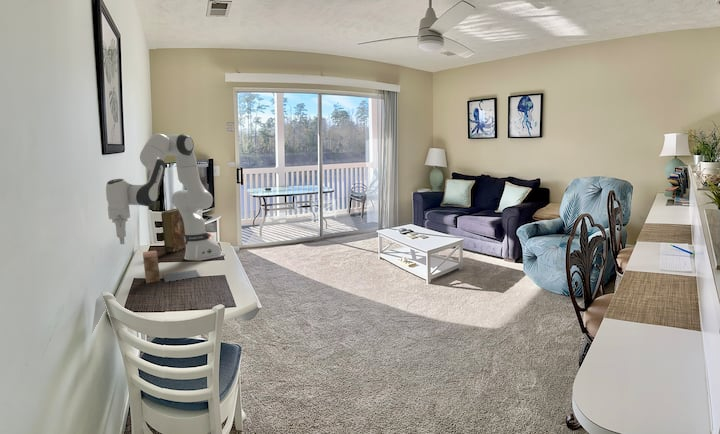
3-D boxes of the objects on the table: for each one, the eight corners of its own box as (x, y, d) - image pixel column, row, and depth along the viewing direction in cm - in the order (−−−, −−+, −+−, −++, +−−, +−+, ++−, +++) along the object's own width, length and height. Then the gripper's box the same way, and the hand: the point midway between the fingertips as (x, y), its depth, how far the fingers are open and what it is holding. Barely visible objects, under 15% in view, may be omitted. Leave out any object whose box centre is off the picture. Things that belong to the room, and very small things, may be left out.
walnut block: (159, 278, 230) (156, 250, 227) (160, 281, 224) (157, 252, 222) (145, 280, 227) (142, 252, 225) (146, 283, 222) (143, 254, 219)
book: (180, 246, 298) (176, 208, 294) (188, 247, 297) (184, 208, 293) (165, 253, 283) (161, 212, 278) (173, 253, 281) (169, 212, 277)
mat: (196, 270, 241) (195, 269, 241) (200, 276, 229) (200, 276, 229) (162, 275, 234) (162, 274, 234) (165, 282, 222) (165, 281, 222)
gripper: (127, 216, 207) (130, 246, 210) (126, 211, 225) (129, 239, 228) (111, 217, 205) (114, 248, 207) (111, 212, 223) (114, 240, 225)
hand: (122, 243), depth 217 cm, fingers closed
